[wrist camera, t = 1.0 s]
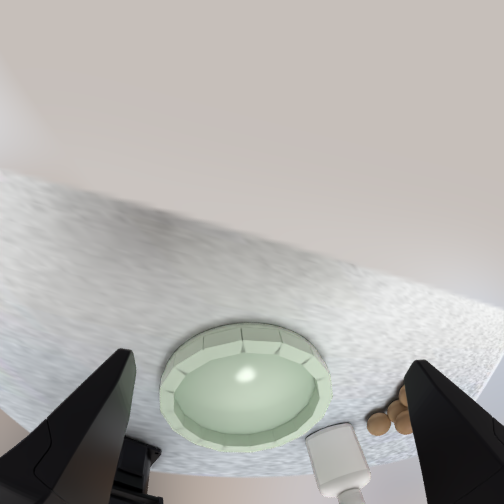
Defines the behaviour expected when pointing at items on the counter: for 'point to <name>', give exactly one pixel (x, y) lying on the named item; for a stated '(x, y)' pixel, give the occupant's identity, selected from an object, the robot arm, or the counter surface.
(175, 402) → the sage dish
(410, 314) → the counter surface
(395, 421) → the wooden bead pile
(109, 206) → the counter surface
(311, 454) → the eye dropper bottle
